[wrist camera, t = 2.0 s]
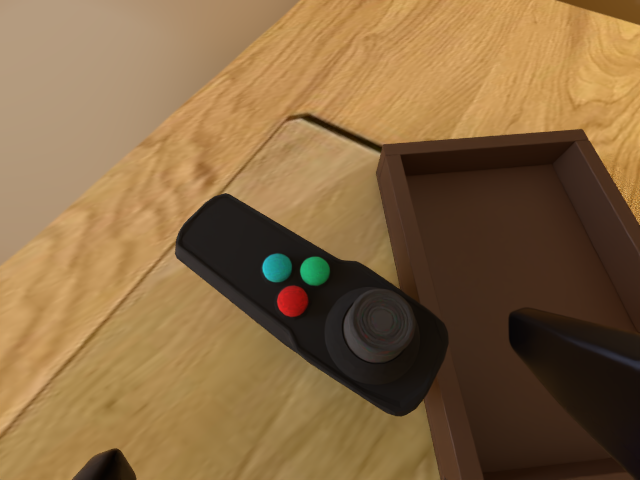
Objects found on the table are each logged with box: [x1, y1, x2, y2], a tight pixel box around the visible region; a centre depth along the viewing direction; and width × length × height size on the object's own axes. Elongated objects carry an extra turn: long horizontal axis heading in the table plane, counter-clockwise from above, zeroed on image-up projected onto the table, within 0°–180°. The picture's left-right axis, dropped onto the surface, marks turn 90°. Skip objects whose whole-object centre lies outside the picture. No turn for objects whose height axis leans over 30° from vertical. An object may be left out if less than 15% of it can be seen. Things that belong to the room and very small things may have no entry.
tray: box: [376, 129, 640, 480], centre depth 19 cm, size 20×14×3 cm
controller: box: [175, 193, 449, 416], centre depth 15 cm, size 4×12×10 cm, turn 55°
